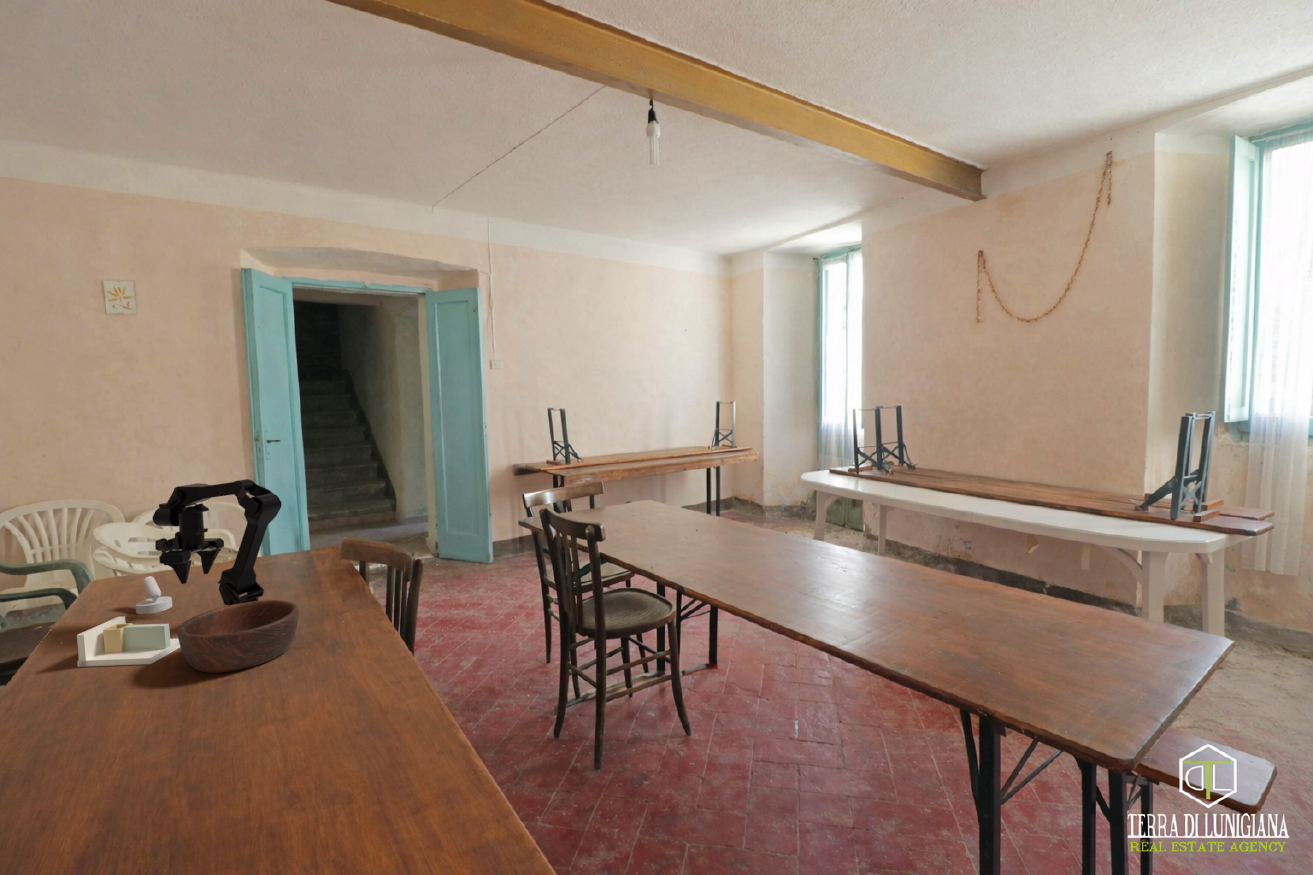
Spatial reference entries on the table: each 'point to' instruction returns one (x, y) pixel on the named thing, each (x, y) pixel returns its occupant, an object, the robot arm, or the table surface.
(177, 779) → the table surface
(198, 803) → the table surface
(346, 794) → the table surface
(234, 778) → the table surface
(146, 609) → the wall hook
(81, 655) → the l-shaped pin bracket
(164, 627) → the square socket tool
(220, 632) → the wooden bowl
